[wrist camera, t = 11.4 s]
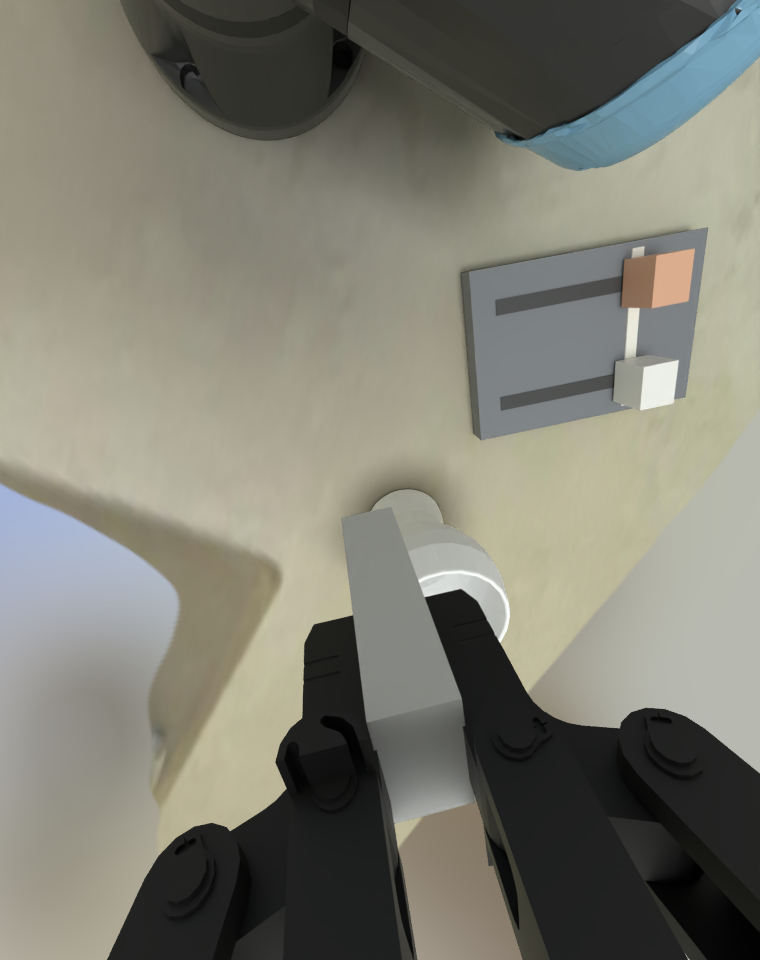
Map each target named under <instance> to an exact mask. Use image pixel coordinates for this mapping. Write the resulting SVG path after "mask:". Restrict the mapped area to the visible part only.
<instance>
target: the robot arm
mask: <svg viewBox="0 0 760 960" xmlns="http://www.w3.org/2000/svg"><path fill="white" fill-rule="evenodd" d="M120 1H121V4H122V6H123V9H124V11H125V14H126V16H127V18H128V21H129V23H130V25H131V27H132V29H133V31H134V33H135V35H136V37H137V39H138V40H139V42H140V44H141V45H142V47H143V49H144V50H145V52H146V53H147V55H148V56H149V58H150V59H151V61H152V62H153V64H154V65H155V67H156V68H157V70H158V71H159V72H160V74H161V75H162V77H163V78H164V79H165V81H166V82H167V83H168V85H169V86H170V87H171V88H172V89H173V90H174V92H175V93H176V94H177V95H178V96H179V97H180V98H181V99H182V100H183V101H184V102H185V103H186V104H187V105H188V106H189V107H190V108H192V109H193V110H194V111H195V112H197V113H198V114H199V115H200V116H202V117H203V118H205V119H206V120H208V121H209V122H211V123H212V124H214V125H216V126H218V127H220V128H222V129H224V130H226V131H228V132H231V133H233V134H236V135H239V136H242V137H247V138H251V139H258V140H278V139H285V138H290V137H293V136H297V135H299V134H302V133H304V132H306V131H308V130H310V129H312V128H314V127H315V126H317V125H318V124H320V123H321V122H322V121H324V120H325V119H326V118H327V117H328V116H329V115H331V114H332V113H333V112H334V111H335V109H336V108H337V107H338V106H339V105H340V103H341V102H342V101H343V100H344V98H345V97H346V95H347V94H348V92H349V90H350V89H351V87H352V85H353V83H354V81H355V79H356V77H357V75H358V72H359V70H360V67H361V64H362V61H363V58H364V55H365V51H366V50H367V51H369V52H370V53H372V54H374V55H375V56H377V57H378V58H380V59H382V60H383V61H385V62H386V63H388V64H389V65H391V66H393V67H394V68H396V69H397V70H399V71H401V72H402V73H404V74H405V75H407V76H408V77H410V78H412V79H413V80H415V81H416V82H418V83H420V84H421V85H423V86H424V87H426V88H427V89H429V90H431V91H432V92H434V93H435V94H437V95H439V96H440V97H442V98H443V99H445V100H447V101H448V102H450V103H451V104H453V105H454V106H456V107H458V108H459V109H461V110H462V111H464V112H466V113H467V114H469V115H470V116H472V117H473V118H475V119H477V120H478V121H480V122H481V123H483V124H485V125H486V126H488V127H489V128H491V129H492V130H494V131H495V134H496V137H497V138H498V139H500V140H501V141H503V142H504V143H506V144H508V145H511V146H514V147H525V148H527V149H529V150H531V151H533V152H535V153H536V154H538V155H540V156H542V157H544V158H545V159H547V160H549V161H551V162H553V163H555V164H556V165H558V166H560V167H563V168H566V169H570V170H576V171H582V170H586V169H590V168H599V167H607V166H611V165H614V164H616V163H619V162H621V161H624V160H626V159H628V158H630V157H632V156H634V155H636V154H638V153H640V152H642V151H643V150H645V149H647V148H649V147H650V146H652V145H654V144H655V143H657V142H658V141H660V140H661V139H663V138H665V137H666V136H667V135H669V134H670V133H672V132H673V131H675V130H676V129H677V128H679V127H680V126H681V125H683V124H684V123H685V122H687V121H688V120H689V119H691V118H692V117H693V116H694V115H696V114H697V113H698V112H699V111H701V110H702V109H703V108H704V107H705V106H707V105H708V104H709V103H710V102H711V101H713V100H714V99H715V98H716V97H717V96H718V95H720V94H721V93H722V92H723V91H724V90H725V89H726V88H727V87H729V86H730V85H731V84H732V83H733V82H734V81H735V80H736V79H737V78H738V77H739V76H740V75H741V74H743V73H744V72H745V71H746V70H747V69H748V68H749V67H750V66H751V65H752V64H753V63H754V62H755V61H756V60H757V59H758V58H759V57H760V0H120ZM341 520H342V528H343V536H344V544H345V552H346V560H347V569H348V577H349V585H350V593H351V601H352V609H353V616H348V617H344V618H340V619H336V620H331V621H327V622H323V623H318V624H314V625H313V627H312V629H311V631H310V633H309V635H308V637H307V639H306V641H305V645H304V666H305V667H304V684H303V716H302V719H301V720H299V721H298V722H297V723H296V724H295V725H294V726H292V727H291V728H290V730H289V731H288V733H287V734H286V736H285V737H284V739H283V740H282V742H281V744H280V747H279V750H278V754H277V758H276V765H277V767H278V769H279V772H280V774H281V776H282V779H283V781H284V783H285V786H286V788H287V789H286V790H285V791H284V792H283V793H282V795H281V796H280V797H279V798H278V799H277V800H276V801H275V802H274V803H272V804H271V805H270V806H268V807H267V808H266V809H265V810H263V811H262V812H260V813H258V814H257V815H255V816H254V817H252V818H251V819H249V820H247V821H246V822H244V823H243V824H241V825H240V826H238V827H236V828H235V829H233V830H232V831H229V830H228V828H227V827H224V826H221V825H217V824H214V823H209V824H205V825H200V826H195V827H193V828H191V829H190V830H188V831H187V832H185V833H183V834H182V835H180V836H178V837H177V838H175V840H174V841H173V842H172V843H171V844H170V845H169V846H168V847H167V848H166V849H165V850H164V851H163V852H162V853H161V854H160V855H159V856H158V858H157V859H156V861H155V863H154V864H153V866H152V868H151V869H150V871H149V873H148V874H147V876H146V878H145V879H144V881H143V883H142V886H141V888H140V890H139V892H138V894H137V897H136V899H135V901H134V903H133V905H132V907H131V909H130V912H129V914H128V916H127V918H126V920H125V922H124V924H123V927H122V929H121V931H120V933H119V935H118V938H117V940H116V942H115V944H114V946H113V948H112V950H111V952H110V955H109V957H108V959H107V960H417V955H416V949H415V943H414V936H413V930H412V924H411V917H410V911H409V904H408V898H407V892H406V885H405V879H404V873H403V866H402V863H401V859H400V856H399V851H398V847H397V840H396V834H395V827H394V824H395V823H399V822H403V821H406V820H410V819H414V818H418V817H421V816H425V815H429V814H432V813H436V812H440V811H443V810H447V809H451V808H455V807H459V806H463V805H466V804H470V803H474V802H475V798H476V801H477V804H478V807H479V810H480V814H481V817H482V820H483V824H484V833H485V841H486V850H487V857H488V864H489V866H492V865H493V866H494V869H495V872H496V875H497V879H498V882H499V885H500V888H501V892H502V895H503V898H504V901H505V904H506V907H507V911H508V914H509V917H510V920H511V924H512V927H513V930H514V933H515V936H516V939H517V943H518V946H519V949H520V952H521V956H522V959H523V960H688V959H687V957H688V958H689V959H690V960H760V773H758V772H757V771H756V770H755V769H753V768H752V767H751V766H750V765H748V764H747V763H746V762H745V761H744V760H742V759H741V758H740V757H739V756H737V755H736V754H735V753H734V752H733V751H731V750H730V749H729V748H728V747H727V746H725V745H724V744H723V743H722V742H720V741H719V740H718V739H717V738H715V737H714V736H713V735H712V734H711V733H709V732H708V731H707V730H706V729H704V728H703V727H701V726H700V725H698V724H696V723H695V722H693V721H692V720H690V719H689V718H687V717H685V716H683V715H680V714H677V713H674V712H671V711H669V710H666V709H655V708H644V709H641V710H638V711H634V712H631V713H630V714H629V715H628V716H627V717H626V718H625V719H624V720H623V721H622V722H621V726H620V729H619V728H606V727H593V726H592V727H591V726H581V725H576V724H570V723H566V722H564V721H561V720H559V719H556V718H554V717H552V716H551V715H549V714H548V713H546V712H544V711H543V710H541V708H539V707H538V706H537V705H536V704H535V703H534V702H533V701H532V699H531V698H530V696H529V695H528V694H527V692H526V690H525V688H524V687H523V685H522V683H521V681H520V679H519V677H518V675H517V674H516V672H515V670H514V668H513V666H512V664H511V662H510V661H509V659H508V657H507V655H506V653H505V651H504V649H503V648H502V646H501V644H500V642H499V640H498V638H497V636H495V634H494V631H493V629H492V627H491V625H490V623H489V622H488V621H487V618H486V616H485V614H484V612H483V610H482V609H481V607H480V605H479V603H478V601H477V600H475V599H474V598H473V597H471V596H470V595H469V594H468V593H466V592H465V591H464V590H462V589H458V590H453V591H449V592H445V593H441V594H436V595H432V596H428V597H424V595H423V592H422V589H421V586H420V584H419V581H418V578H417V576H416V573H415V570H414V567H413V565H412V562H411V559H410V557H409V554H408V551H407V548H406V546H405V543H404V540H403V538H402V535H401V532H400V529H399V527H398V524H397V521H396V518H395V516H394V513H393V510H392V508H391V507H387V508H383V509H378V510H374V511H369V512H365V513H360V514H355V515H351V516H346V517H342V518H341ZM474 795H475V798H474ZM685 954H686V955H687V957H686V955H685Z"/></svg>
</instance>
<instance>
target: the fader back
mask: <svg viewBox="0 0 760 960" xmlns="http://www.w3.org/2000/svg"><path fill="white" fill-rule="evenodd" d="M678 362H679V360H676V359H670V358H664V357H658V356H652V355H644V356H639V357H634V358H629V359H624V360H619V361H616V364H615V380H614V396H613V401H614V402H617V403H620V404H623V405H626V406H629V407H632V408H635V409H637V410H644V409H649V408H654V407H659V406H663V405H668V404H673V403H674V395H675V387H676V379H677V371H678Z"/></svg>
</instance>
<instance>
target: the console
mask: <svg viewBox="0 0 760 960" xmlns="http://www.w3.org/2000/svg"><path fill="white" fill-rule="evenodd" d="M707 232H708V227H707V228H702V229H696V230H691V231H685V232H680V233H674V234H669V235H664V236H658V237H653V238H647V239H642V240H637V241H631V242H626V243H620V244H615V245H610V246H604V247H599V248H593V249H588V250H583V251H577V252H572V253H566V254H561V255H556V256H550V257H545V258H539V259H534V260H529V261H523V262H518V263H513V264H507V265H502V266H496V267H491V268H486V269H480V270H475V271H469V272H464V273H461V280H462V292H463V305H464V318H465V330H466V343H467V355H468V368H469V380H470V393H471V406H472V418H473V431H474V434H475V435H476V436H477V437H478V438H479V439H480V440H485V439H489V438H494V437H499V436H504V435H508V434H513V433H518V432H523V431H527V430H532V429H537V428H542V427H546V426H551V425H556V424H560V423H565V422H570V421H575V420H579V419H584V418H589V417H594V416H598V415H603V414H608V413H613V412H617V411H622V410H627V409H631V408H632V407H629V406H626V405H623V404H620V403H617V402H614V401H613V396H614V380H615V364H616V361H619V360H624V359H629V358H634V357H639V356H644V355H652V356H658V357H664V358H670V359H676V360H679V362H678V371H677V379H676V387H675V395H674V399H679V398H684V397H686V389H687V382H688V374H689V367H690V359H691V352H692V344H693V337H694V329H695V322H696V314H697V307H698V300H699V292H700V285H701V277H702V270H703V262H704V255H705V247H706V240H707ZM694 248H695V253H694V261H693V269H692V277H691V285H690V293H689V301H687V302H682V303H677V304H672V305H667V306H661V307H656V308H623V307H621V305H622V290H623V274H624V260H625V259H630V258H636V257H641V256H646V255H652V254H657V253H663V252H671V251H679V250H687V249H694Z"/></svg>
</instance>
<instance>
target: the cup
mask: <svg viewBox="0 0 760 960" xmlns="http://www.w3.org/2000/svg"><path fill="white" fill-rule="evenodd" d="M387 507H391V508H392V510H393V513H394V516H395V518H396V521H397V524H398V527H399V529H400V532H401V535H402V538H403V540H404V543H405V546H406V548H407V551H408V554H409V557H410V559H411V562H412V565H413V567H414V570H415V573H416V576H417V578H418V581H419V584H420V586H421V589H422V592H423V595H424V597H428V596H432V595H436V594H441V593H445V592H449V591H453V590H458V589H462V590H464V591H465V592H466V593H468V594H469V595H470V596H471V597H473V598H474V599H475V600H477V601H478V603H479V605H480V607H481V609H482V610H483V612H484V614H485V616H486V618H487V621H488V622H489V623H490V625H491V627H492V629H493V631H494V634H495V636H497V638H498V640H499V642H501V640H502V638H503V636H504V635H505V633H506V631H507V628H508V623H509V618H510V610H509V601H508V598H507V594H506V591H505V587H504V583H503V580H502V577H501V575H500V573H499V571H498V569H497V567H496V565H495V563H494V562H493V560H492V559H491V557H490V556H489V555H488V553H487V552H486V550H485V549H484V548H483V547H482V546H481V545H480V544H479V543H478V542H477V541H476V540H475V539H473V538H471V537H470V536H468V535H466V534H465V533H463V532H461V531H460V530H458V529H456V528H454V527H452V526H450V525H446V524H444V523H443V518H442V515H441V512H440V509H439V507H438V505H437V503H436V502H435V501H434V500H433V499H432V498H431V497H430V496H429V495H427V494H425V493H423V492H421V491H417V490H413V489H406V490H398V491H395V492H391V493H390V494H388V495H386V496H384V497H382V498H381V499H380V500H379V501H378V502H377V503H376V504H375V505H374V507H373V508H372V510H371V511H374V510H378V509H383V508H387Z"/></svg>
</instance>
